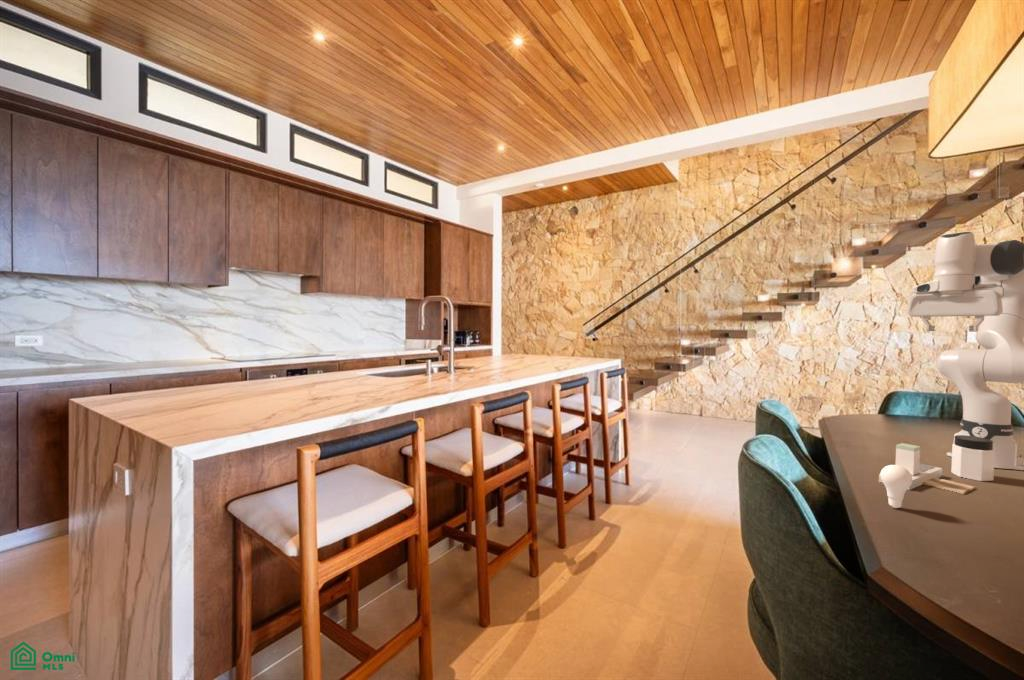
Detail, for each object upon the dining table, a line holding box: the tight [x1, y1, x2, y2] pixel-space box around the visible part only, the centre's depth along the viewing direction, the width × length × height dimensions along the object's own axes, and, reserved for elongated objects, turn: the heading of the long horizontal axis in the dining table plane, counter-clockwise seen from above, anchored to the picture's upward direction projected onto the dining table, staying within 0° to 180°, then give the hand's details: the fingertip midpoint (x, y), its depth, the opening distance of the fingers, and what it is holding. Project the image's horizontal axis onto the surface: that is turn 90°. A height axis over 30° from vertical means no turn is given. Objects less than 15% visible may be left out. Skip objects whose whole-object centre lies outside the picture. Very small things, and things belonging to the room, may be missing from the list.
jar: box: [950, 435, 995, 482], centre depth 133 cm, size 9×8×12 cm
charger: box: [894, 442, 921, 475], centre depth 129 cm, size 4×4×8 cm
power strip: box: [878, 463, 943, 491], centre depth 132 cm, size 29×7×3 cm, turn 119°
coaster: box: [922, 477, 976, 495], centre depth 125 cm, size 9×9×1 cm
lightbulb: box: [879, 464, 912, 509], centre depth 109 cm, size 6×6×11 cm
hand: (951, 331), depth 131 cm, fingers open, 8 cm apart
